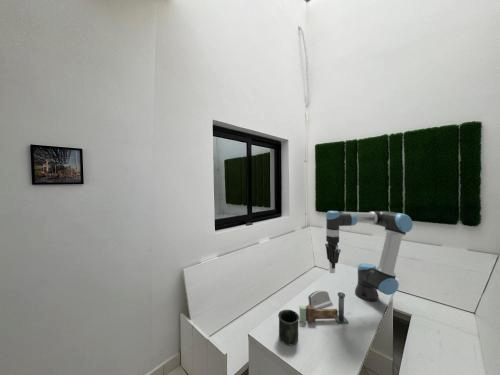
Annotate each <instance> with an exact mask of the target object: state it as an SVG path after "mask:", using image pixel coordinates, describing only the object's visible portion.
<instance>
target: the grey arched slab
mask: <svg viewBox="0 0 500 375" xmlns="http://www.w3.org/2000/svg"><path fill="white" fill-rule="evenodd" d="M307 298H308V305H313V306H314V307H315V309H327V308H330V307H331V306H333V302H332V301H331V298H330V295H329V292H328V291H326V290H315V291H313V292H311V293H310V294H309V295H308V296H307Z"/></svg>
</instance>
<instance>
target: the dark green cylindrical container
mask: <svg viewBox="0 0 500 375" xmlns="http://www.w3.org/2000/svg"><path fill="white" fill-rule="evenodd" d="M277 317H278V338H279V340H280V341H281V343H283V344H284V345H287V346H293V345H295V344H296V343H297V342H298V340H299V321H300V319H299V317H300V314H298V313H297V312H296V311H295V310H292V309H283V310H280V311H279V312H278V315H277Z"/></svg>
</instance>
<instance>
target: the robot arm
mask: <svg viewBox="0 0 500 375" xmlns="http://www.w3.org/2000/svg"><path fill="white" fill-rule="evenodd" d="M325 217H326V234H325V235H326V237H325V238H326V239H325V240H326V242H327V243H325V244H324V245H325V249H326V250H325V251H326V259H327V260H328V262H329V273H330V274H335V273H336V264H338V263H339V257H340V254H341V249H339V245H338V243H340V227H348V226H349V227H352V226H356V224H370V225H375V226H379V227H383V228H384V231H385V233H386V234H385V239H384V243H383V247H382V252H381V255H380V260H379V263H378V266H376V265H375V264H371V263H359V264H358V266H357V284H356V286H355V288H354V294H355V296H356V297H358V298H359V299H361V300H363V301H366V302H377V301H379V292H380V293H382V294H384V295H387V296H391V295H394V294H395V293H396V292H397V291H398V289H399V285H400V284H399V282H398V280H397V279H396V277H397V276H396V273H395V268H396V264H397V260H398V257H399V251H400V247H401V243H402V239H403V237H405V236H406V233H409V232H411V231H412V230H413V220H412V219H411V217H410V216H409V215H407V214H405V213H402V212H401V213H400V212H395V211H387V210H386V211H385V210H380V211H378V210H376V211H369V212H361V211H360V212H359V211H357V212H356V211H338V210H328V211H327V212H326V214H325ZM378 291H379V292H378Z"/></svg>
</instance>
